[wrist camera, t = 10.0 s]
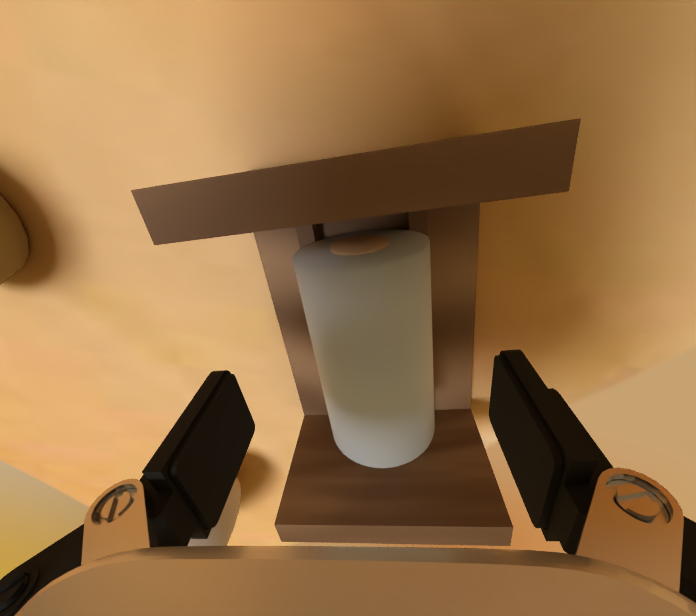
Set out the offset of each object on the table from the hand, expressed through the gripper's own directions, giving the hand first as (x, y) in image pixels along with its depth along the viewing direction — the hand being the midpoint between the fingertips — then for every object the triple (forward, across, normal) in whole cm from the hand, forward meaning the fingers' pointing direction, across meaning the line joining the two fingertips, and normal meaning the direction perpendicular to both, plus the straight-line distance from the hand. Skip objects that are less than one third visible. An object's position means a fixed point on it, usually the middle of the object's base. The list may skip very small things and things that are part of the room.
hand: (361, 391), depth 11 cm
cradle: (+8, 0, +1) cm, 8 cm away
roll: (+4, 0, +1) cm, 4 cm away
